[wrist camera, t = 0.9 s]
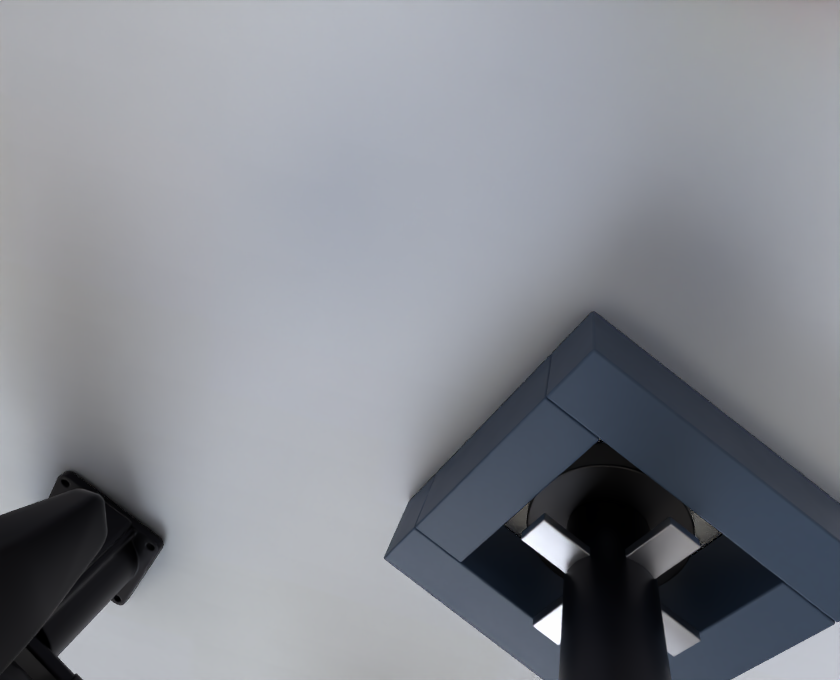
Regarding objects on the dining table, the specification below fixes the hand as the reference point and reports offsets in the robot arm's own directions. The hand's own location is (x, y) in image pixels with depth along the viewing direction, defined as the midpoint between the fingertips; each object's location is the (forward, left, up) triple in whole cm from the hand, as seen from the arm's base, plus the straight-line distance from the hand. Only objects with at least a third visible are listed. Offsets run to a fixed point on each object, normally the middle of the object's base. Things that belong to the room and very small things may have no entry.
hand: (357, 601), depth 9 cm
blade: (-4, -9, -14) cm, 17 cm away
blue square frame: (-4, -9, -14) cm, 17 cm away
